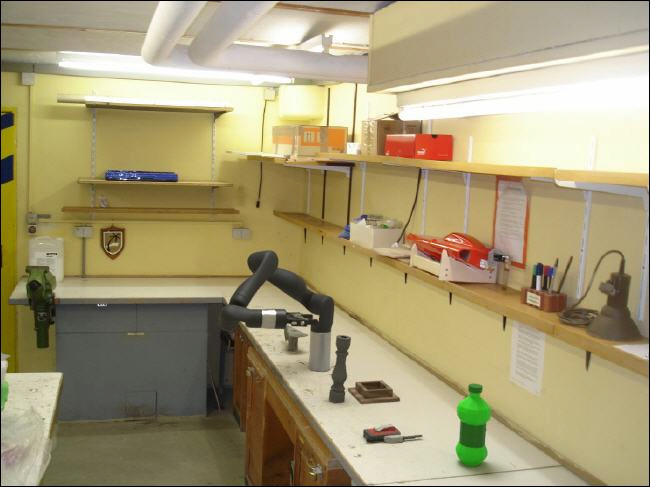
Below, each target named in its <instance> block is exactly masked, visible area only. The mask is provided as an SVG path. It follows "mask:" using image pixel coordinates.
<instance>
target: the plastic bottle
mask: <svg viewBox="0 0 650 487" xmlns="http://www.w3.org/2000/svg"><path fill="white" fill-rule="evenodd" d="M483 388H484V387H483V385H482V384H479V383H469V384H468V387H467V391H468V392H469V395H468V396H467V397H465V398H463V400H461V401H460V402H458V404H457V406H456V414H457V416H458V419H459V420H460V422H459V424H460V425H459V439H458V442H457V444H456V446H455V453H456V456H457V457H458V459H459V460H460V461H461V462H462V464H464V465H466V466H468V467H477V466H479V465H480V464H482V463H483V462H484V461H485V460H486V459H487V456H488V454H489V453H488V448H487V446H486V434H487V433H486V432H487V423H488V422H489V421H490V420H491V417H492V408H491V407H490V405H489V404H488V403H487V402H486V401H485V400H484V398H483V397H481V394H482V393H483Z"/></svg>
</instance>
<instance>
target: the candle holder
mask: <svg viewBox="0 0 650 487" xmlns="http://www.w3.org/2000/svg"><path fill="white" fill-rule="evenodd" d="M335 338H336V339H335V346H336V349H337V350H335V352H334V353H335V356H336V360H335V364H334V367H333V370H332V373H331V376H330V377H331V380H332V384H331V386H330V389H329V392H328V394H329V395H328V400H329V401H331V402H333V403H344V402H345V400H346V387H345V385H344V384H345V383H346V381H347V380H348V372H347V357H348V356H349V352H348V350H349V349H350V347H351V341H352V337H351V336H349V335H346V334H345V335H344V334H339V335H336V337H335Z"/></svg>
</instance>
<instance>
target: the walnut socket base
mask: <svg viewBox="0 0 650 487" xmlns="http://www.w3.org/2000/svg"><path fill="white" fill-rule="evenodd" d="M354 382H355V384H354V386H355V387H347V392H349V393H350V394H351V395H352V396H353V398H355V399H356V401H358V402H359V404H361V405H363V404H364V405H365V404H366V405H369V404H380V403H393V402H395V403H396V402H397V403H398V402H401V397H399V396H398V394H396V393H395V392H394V389H393V388H392V387H391V386H389V385H388V383H386V382H385V381H384V380H382V379H381V380H369V381H368V380H367V381H365V380H364V381H354Z"/></svg>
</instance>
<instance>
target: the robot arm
mask: <svg viewBox="0 0 650 487" xmlns="http://www.w3.org/2000/svg"><path fill="white" fill-rule="evenodd" d="M246 262H247V267H248V269H249V270H250V272H251V273H252V274H251V275H250V276H249V277H247V278H246V279H245V280H244V281H243V282H242V283H241V284H240V285H238V287H236V289H235V291H234V292H233V294H231V297H230V299H229V302H228V304H227V305H224V306H222V308H221V309H220V311H219V318H218V326H219V328H220V329H221V331H224V332H232V331H234V330H235V329H236V328H237V326H238V325H239V323H240V322H241V323H244V325H245V327H247V328H249V329H265V330H268V329H269V330H284V329H285V328H286V325H290V326H291V327H292V328H294V327H302V328H306V327H308V326H310V334H309V336H310V337H309V359H308V364H309V365H308V369H309V370H311V371H312V372H327V371H330V369H331V351H332V350H331V348H332V347H331V346H332V343H331V342H332V328H333V325H334V316H335V301H334V299H333V297H332V296H330V295H326V294H321V293H318V292H317V293H316V292H314V291H312V290H311V289H309V288H308V286H307V283H306V281H305V280H304V279H303V278H302V277H301V276H299V275H298V274H296V273H295V272H293V271H291V270H289V269H284V268H281V267H279V262H280V261H279V256H278V254H277V253H276V252H275V251H273V250H271V249H270V250H268V249H266V250H261V251H255V252H253V253H250V254H249V256H248V257H247V260H246ZM266 282H268V283H270V284H271V285H273V286H274V287H275V288H277V289H278V290H280V291H281V292H282V293H284V294H286V295H287V296H288V297H290V298H291V299H293V300H295V301H296V302H298V303H300V305H301V306H303V307H304V308H305V309H306V310H307V311H308V312H309V313H302V312H299V311H297V312H296V311H295V312H294V311H293V312H291V311H287V310H286V309H285V308H248V307H249V304H250V303H251V301H252V300H253V298H254V296H255V295H256V294H257V292H258V291H259V289H261V288H262V286H263V285H264V284H265V283H266ZM310 313H311V314H310ZM314 315H316V316H318V319H317V318H314ZM303 322H304V323H303Z"/></svg>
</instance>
